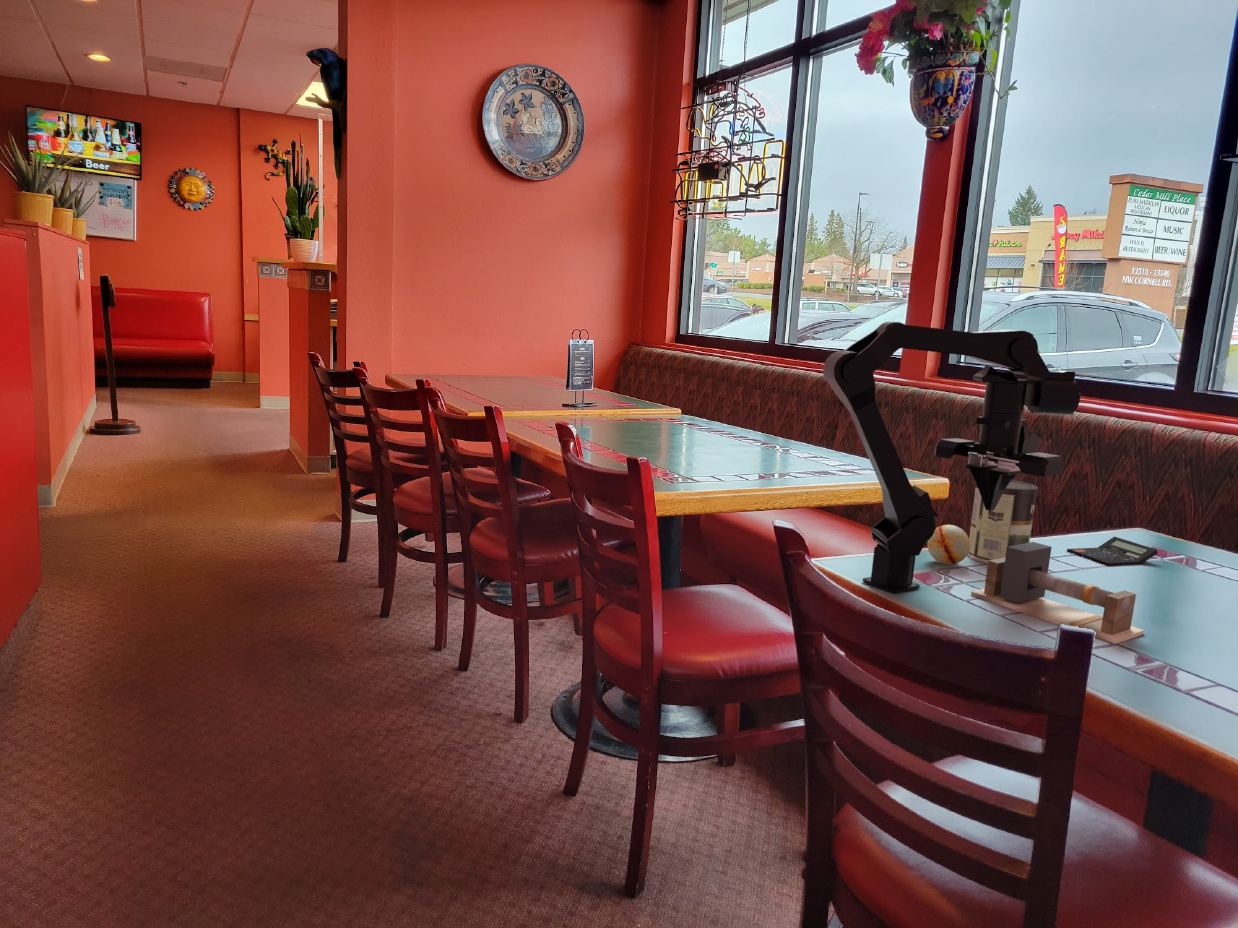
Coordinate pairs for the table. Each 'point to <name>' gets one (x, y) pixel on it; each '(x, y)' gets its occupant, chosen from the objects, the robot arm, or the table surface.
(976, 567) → the table surface
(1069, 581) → the pipe stand
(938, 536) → the ball
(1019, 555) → the grey sliding block
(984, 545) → the coffee can
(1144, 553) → the calculator
